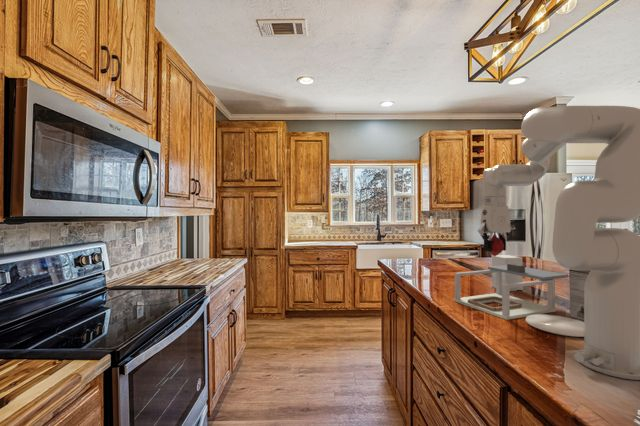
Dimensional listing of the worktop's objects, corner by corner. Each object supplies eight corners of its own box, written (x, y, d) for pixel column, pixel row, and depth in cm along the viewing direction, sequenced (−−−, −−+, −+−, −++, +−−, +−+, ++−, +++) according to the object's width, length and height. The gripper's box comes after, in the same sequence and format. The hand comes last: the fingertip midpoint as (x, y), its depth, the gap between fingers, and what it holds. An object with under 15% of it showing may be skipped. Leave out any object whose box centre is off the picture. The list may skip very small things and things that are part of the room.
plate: (571, 342, 84) (571, 338, 84) (513, 321, 100) (513, 318, 100) (610, 333, 90) (610, 329, 90) (549, 315, 106) (549, 311, 106)
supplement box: (523, 290, 138) (523, 257, 138) (505, 291, 137) (505, 257, 137) (508, 286, 147) (508, 254, 147) (491, 286, 146) (491, 255, 146)
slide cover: (543, 280, 108) (543, 270, 108) (488, 269, 129) (487, 260, 129) (568, 277, 112) (567, 267, 112) (510, 267, 133) (510, 258, 133)
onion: (506, 257, 111) (506, 235, 111) (489, 257, 112) (488, 234, 112) (500, 255, 117) (500, 233, 117) (483, 254, 118) (483, 233, 118)
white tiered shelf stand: (506, 319, 101) (506, 285, 101) (453, 301, 123) (453, 272, 123) (556, 311, 110) (555, 279, 110) (498, 295, 131) (498, 268, 131)
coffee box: (588, 313, 107) (588, 267, 107) (610, 320, 101) (610, 270, 101) (568, 316, 105) (568, 268, 104) (589, 322, 98) (589, 272, 98)
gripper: (485, 201, 108) (486, 252, 108) (520, 201, 114) (521, 250, 114) (468, 202, 115) (468, 250, 115) (502, 202, 121) (502, 248, 121)
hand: (494, 250), depth 114 cm, fingers closed on onion, 5 cm apart
